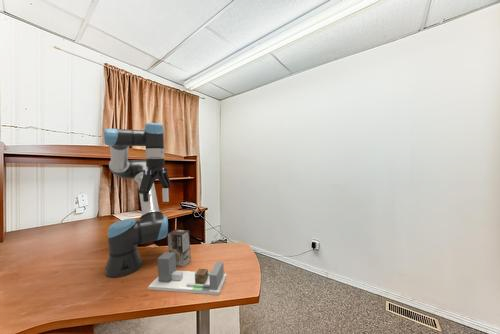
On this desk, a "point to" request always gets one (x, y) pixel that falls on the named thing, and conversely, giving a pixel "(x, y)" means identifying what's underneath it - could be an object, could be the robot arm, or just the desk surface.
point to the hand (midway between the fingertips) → (157, 205)
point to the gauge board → (188, 282)
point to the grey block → (168, 268)
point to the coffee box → (180, 246)
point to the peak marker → (201, 276)
